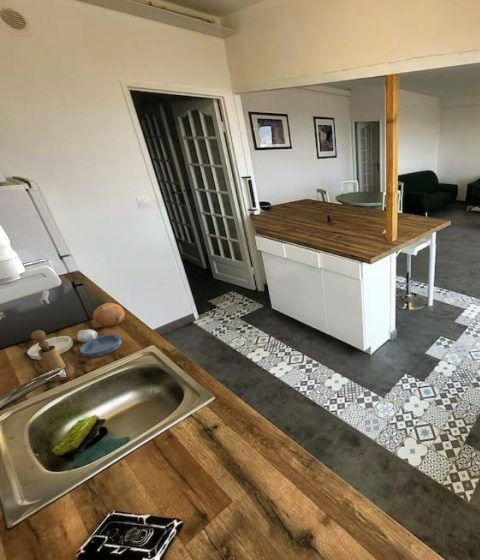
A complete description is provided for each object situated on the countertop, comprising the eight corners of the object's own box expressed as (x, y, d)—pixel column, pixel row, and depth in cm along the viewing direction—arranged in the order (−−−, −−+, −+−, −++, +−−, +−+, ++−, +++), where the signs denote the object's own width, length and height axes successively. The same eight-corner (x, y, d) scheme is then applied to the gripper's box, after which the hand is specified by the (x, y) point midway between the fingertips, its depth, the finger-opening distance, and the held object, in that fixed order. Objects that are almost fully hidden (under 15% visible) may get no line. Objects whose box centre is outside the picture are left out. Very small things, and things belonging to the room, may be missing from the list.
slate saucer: (92, 361, 111) (89, 357, 110) (76, 352, 115) (73, 347, 114) (128, 344, 120) (126, 339, 119) (112, 335, 124) (110, 331, 123)
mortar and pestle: (74, 366, 108) (51, 323, 101) (75, 375, 104) (51, 331, 96) (47, 375, 104) (21, 331, 96) (47, 385, 100) (19, 340, 92)
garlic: (76, 346, 118) (70, 335, 116) (82, 338, 122) (76, 327, 120) (96, 342, 120) (90, 331, 118) (101, 335, 125) (96, 324, 122)
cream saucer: (38, 364, 109) (35, 359, 108) (24, 354, 113) (21, 349, 112) (80, 345, 118) (77, 341, 117) (65, 337, 123) (62, 332, 122)
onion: (113, 317, 136) (105, 297, 132) (133, 319, 135) (125, 299, 131) (91, 329, 128) (82, 309, 123) (113, 332, 127) (103, 311, 122)
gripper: (44, 255, 97) (63, 294, 103) (-62, 280, 80) (-31, 324, 86) (53, 258, 94) (73, 298, 100) (-54, 285, 78) (-23, 331, 84)
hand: (24, 310), depth 93 cm, fingers open, 8 cm apart
